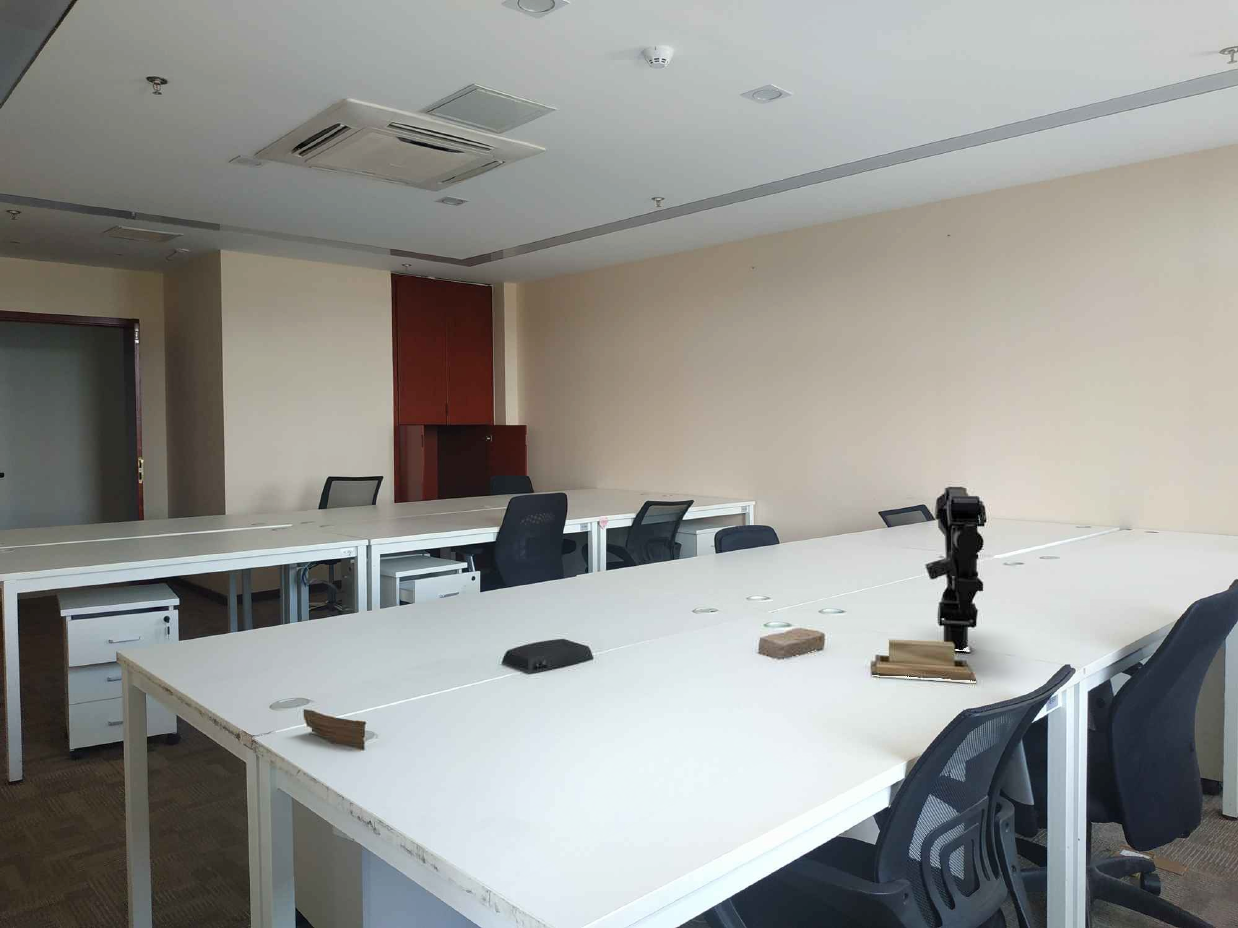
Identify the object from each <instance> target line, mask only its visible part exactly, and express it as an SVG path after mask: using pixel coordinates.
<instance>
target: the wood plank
mask: <svg viewBox="0 0 1238 928" xmlns="http://www.w3.org/2000/svg"><path fill="white" fill-rule="evenodd" d="M302 711H303V719H304V721H305V723H306V727H308V728H310V729H311V733H315V734H316V735H317V736H318V737H320V738H322V739H325V740H327V741H329V742H332V743H334V744H338V745H344V746H346V747H351V748H355V749H358V750H363V751H364V750H366V746H365V743H366V742H365V741H366V740H364V738H365V735H366V725H367V721H362V720H352V719H347V718H342V717H335V716H330V715H327V714H323V713H320V712H317V711H315V710H312V709H307V708H303V710H302Z"/></svg>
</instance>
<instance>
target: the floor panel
mask: <svg viewBox="0 0 1238 928" xmlns="http://www.w3.org/2000/svg"><path fill="white" fill-rule="evenodd" d="M874 656H875V660H871V661H870V670H872V671H871V676H872V675H879V676H907V677H908V676H909V677H918V678H921V677H922V678H942V679H951V680H970V681H971V680H972V681H976V682H977V678H976V676H975V674H974V672H973V670H972V667H970V666H969V664H968V662H967V661H966V660H965V659H964V660H963V659H962V660H961V659H954V667H951V666H936V665H921V664H905V663H890V662H889V655H886V654H885V655H882V654H875V655H874Z"/></svg>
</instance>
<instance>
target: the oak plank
mask: <svg viewBox="0 0 1238 928" xmlns="http://www.w3.org/2000/svg"><path fill="white" fill-rule="evenodd" d="M955 653H956V652H955V646H954V644H953V642H944V641H935V640H920V639H904V638H903V639H902V638H888V656H889V662H890V663H905V664H921V665H936V666H951V667H954V660H956V659H955V658H956V657H955Z"/></svg>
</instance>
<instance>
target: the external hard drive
mask: <svg viewBox="0 0 1238 928" xmlns="http://www.w3.org/2000/svg"><path fill="white" fill-rule="evenodd" d="M592 660H594V655H593V653H592V650H591V648H590V647H589V646H588V645H587V644H586V645H585V644H583V643H582V644H581V643H578V642H575V641H573V640H572V641H571V640H568V639H565V638H558V639H557V638H555V639H549V640H543V641H542V640H541V641H537V642H531V643H528V644H524V645H523V644H522V645H520V646H516V647H514V648H510V649H508V650H506V652H504V655H503V658H502V661H501V663H502V664H503V665H502V664H501V665H502V666H505V665H506V667H508V668H510V667H511V669H513V668H514V670H516V671H518V670H519V672H521V671H522V673H525V674H526V675H527V674H528V675H533V674H539V673H543V672H549V671H555V670H558V669H563V668H567V667H571V666H575V665H579V664H583V663H586V662H589V661H592Z"/></svg>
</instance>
